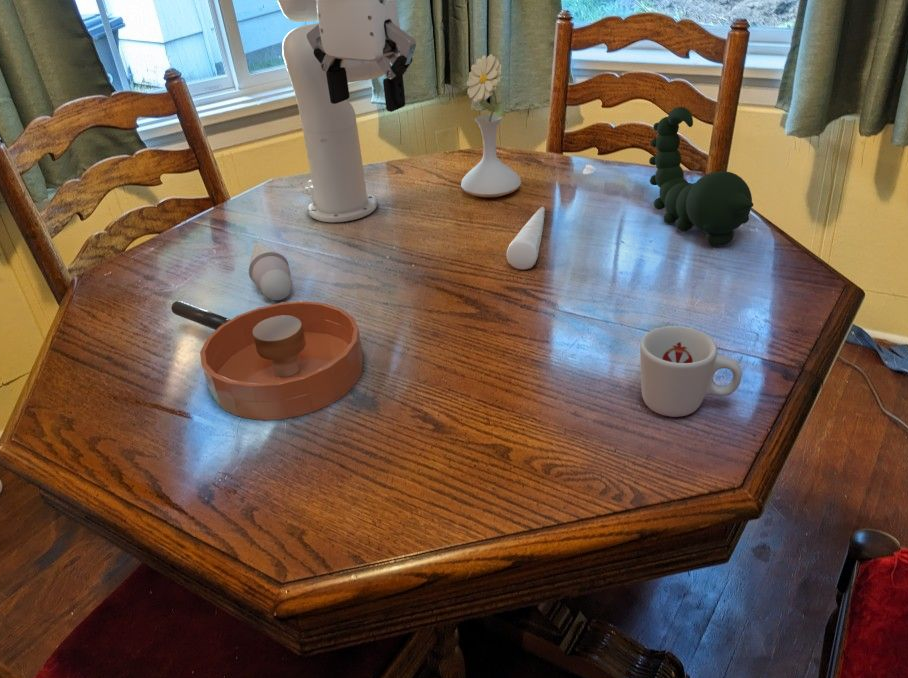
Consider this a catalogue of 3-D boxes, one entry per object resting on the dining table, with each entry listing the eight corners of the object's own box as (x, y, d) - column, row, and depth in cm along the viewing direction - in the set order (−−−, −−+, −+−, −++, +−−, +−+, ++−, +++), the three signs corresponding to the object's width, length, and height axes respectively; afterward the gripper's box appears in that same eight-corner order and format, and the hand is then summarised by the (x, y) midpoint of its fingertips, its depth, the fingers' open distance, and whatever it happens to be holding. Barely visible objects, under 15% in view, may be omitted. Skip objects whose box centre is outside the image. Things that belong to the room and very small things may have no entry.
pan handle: (170, 315, 101) (166, 303, 100) (182, 309, 102) (178, 297, 101) (228, 338, 95) (224, 325, 94) (240, 331, 96) (236, 318, 95)
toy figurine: (633, 218, 128) (718, 265, 108) (637, 106, 119) (731, 133, 98) (680, 209, 130) (773, 253, 110) (688, 98, 121) (791, 123, 100)
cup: (735, 391, 84) (747, 332, 79) (732, 434, 78) (745, 373, 73) (639, 378, 87) (645, 320, 82) (630, 419, 81) (635, 359, 76)
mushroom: (253, 375, 92) (241, 333, 89) (287, 352, 96) (277, 310, 92) (287, 389, 89) (276, 346, 86) (320, 365, 93) (311, 322, 89)
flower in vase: (455, 185, 143) (445, 48, 128) (511, 177, 144) (507, 40, 130) (472, 210, 132) (464, 63, 118) (532, 200, 134) (531, 55, 120)
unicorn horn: (564, 210, 129) (564, 184, 126) (536, 272, 111) (536, 243, 108) (538, 209, 130) (537, 183, 128) (505, 270, 112) (505, 241, 109)
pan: (179, 389, 91) (167, 356, 89) (288, 320, 104) (281, 289, 101) (287, 439, 82) (278, 404, 79) (393, 356, 94) (389, 323, 92)
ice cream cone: (262, 263, 119) (287, 315, 110) (228, 250, 115) (251, 303, 106) (281, 232, 117) (308, 283, 108) (247, 218, 113) (272, 269, 103)
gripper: (425, -48, 85) (436, 104, 95) (317, -48, 93) (338, 91, 103) (384, -39, 80) (401, 120, 90) (274, -40, 89) (301, 105, 99)
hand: (367, 104), depth 97 cm, fingers open, 9 cm apart
